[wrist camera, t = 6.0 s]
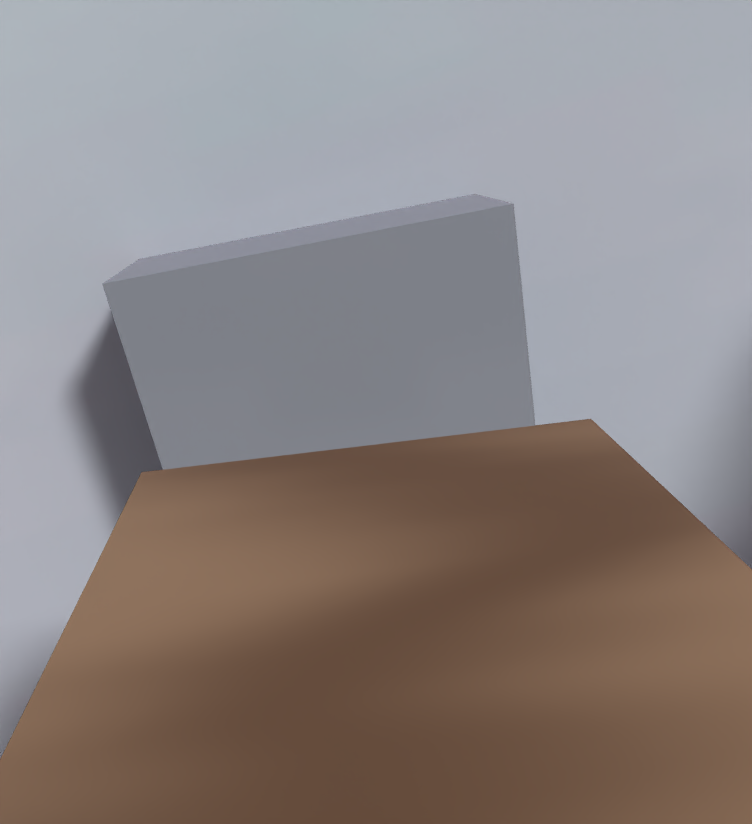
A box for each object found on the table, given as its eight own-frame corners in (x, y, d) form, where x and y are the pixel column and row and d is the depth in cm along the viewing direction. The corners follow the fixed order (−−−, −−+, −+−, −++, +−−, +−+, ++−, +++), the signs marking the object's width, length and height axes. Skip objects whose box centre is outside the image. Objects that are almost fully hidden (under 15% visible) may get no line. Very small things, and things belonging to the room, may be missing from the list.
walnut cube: (591, 418, 8) (1021, 823, 3) (579, 750, 10) (842, 1317, 5) (140, 472, 7) (-123, 1008, 3) (219, 805, 9) (136, 1464, 5)
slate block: (471, 192, 17) (513, 203, 13) (506, 484, 19) (547, 552, 16) (141, 256, 16) (102, 283, 13) (227, 542, 19) (212, 622, 16)
